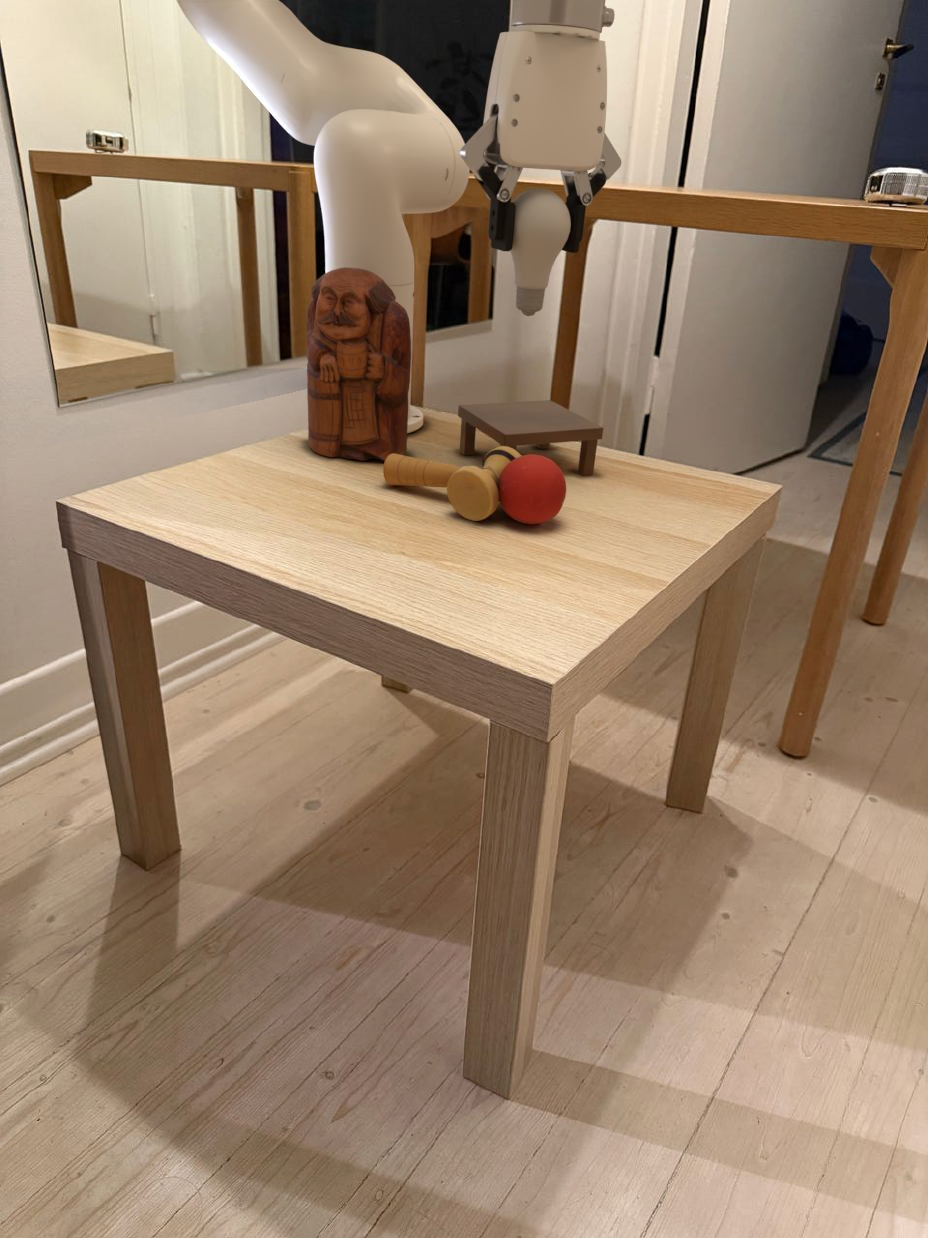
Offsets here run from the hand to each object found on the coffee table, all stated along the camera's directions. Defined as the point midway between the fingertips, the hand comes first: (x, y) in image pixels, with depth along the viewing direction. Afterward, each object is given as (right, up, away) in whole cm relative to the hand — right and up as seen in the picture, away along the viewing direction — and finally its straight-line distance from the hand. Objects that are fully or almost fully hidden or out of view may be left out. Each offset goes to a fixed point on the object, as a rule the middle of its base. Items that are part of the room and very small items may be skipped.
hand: (534, 248), depth 83 cm
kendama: (-6, -24, -1) cm, 25 cm away
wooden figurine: (-18, -17, +12) cm, 27 cm away
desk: (0, -18, +12) cm, 21 cm away
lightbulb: (0, -5, +3) cm, 6 cm away
